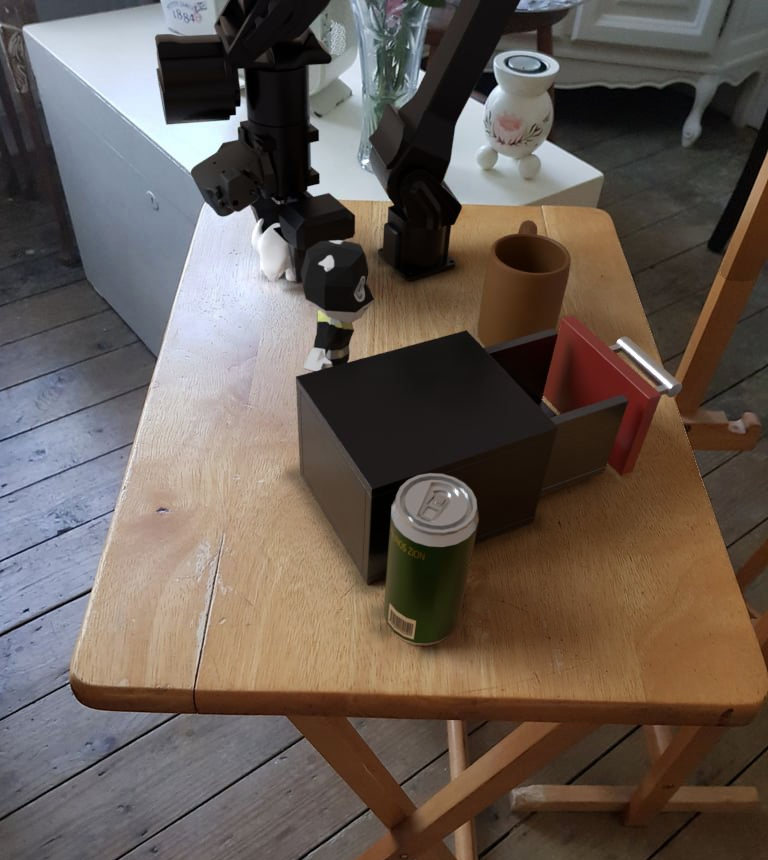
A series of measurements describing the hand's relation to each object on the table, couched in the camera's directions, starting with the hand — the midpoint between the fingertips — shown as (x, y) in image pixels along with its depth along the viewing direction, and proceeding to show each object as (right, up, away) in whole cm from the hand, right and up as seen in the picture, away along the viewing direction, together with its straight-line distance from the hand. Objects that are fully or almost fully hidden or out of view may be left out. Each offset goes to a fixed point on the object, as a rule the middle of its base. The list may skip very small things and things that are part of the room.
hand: (286, 267), depth 86 cm
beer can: (+13, -33, -28) cm, 46 cm away
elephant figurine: (0, -1, +1) cm, 1 cm away
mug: (+23, -7, -3) cm, 25 cm away
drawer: (+24, -20, -17) cm, 36 cm away
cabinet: (+13, -25, -20) cm, 34 cm away
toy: (+6, -16, -12) cm, 21 cm away
